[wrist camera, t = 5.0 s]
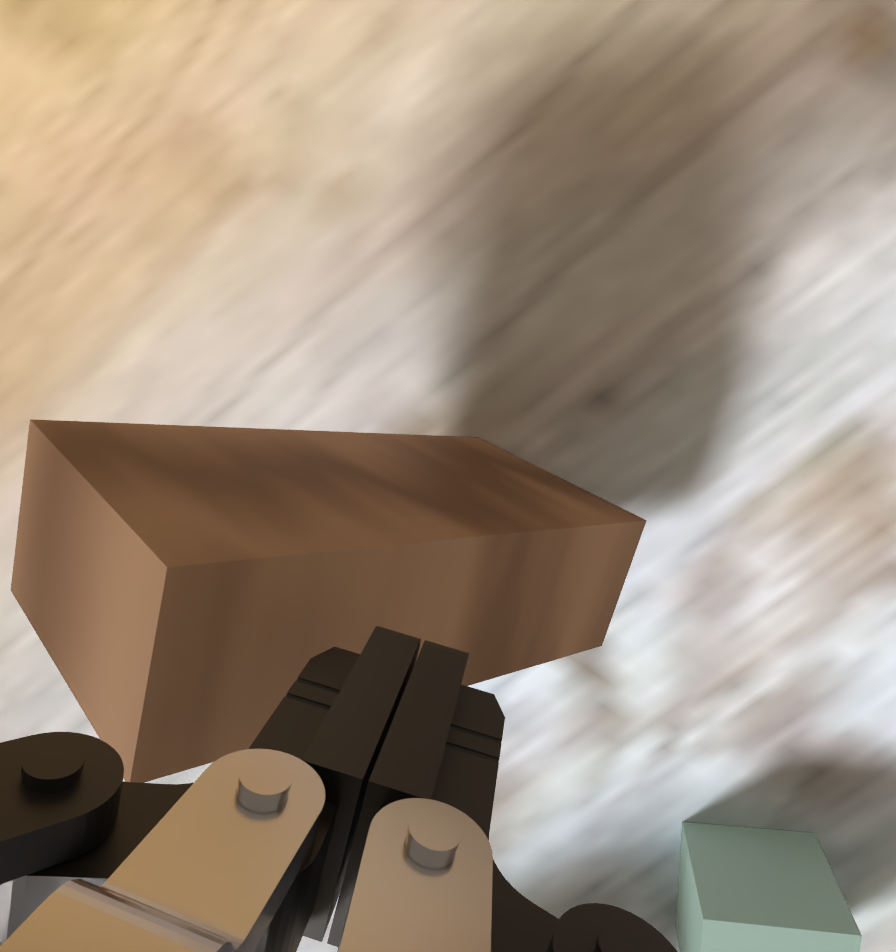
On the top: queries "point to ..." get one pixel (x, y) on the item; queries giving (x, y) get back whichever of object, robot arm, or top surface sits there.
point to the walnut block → (290, 567)
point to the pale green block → (759, 893)
